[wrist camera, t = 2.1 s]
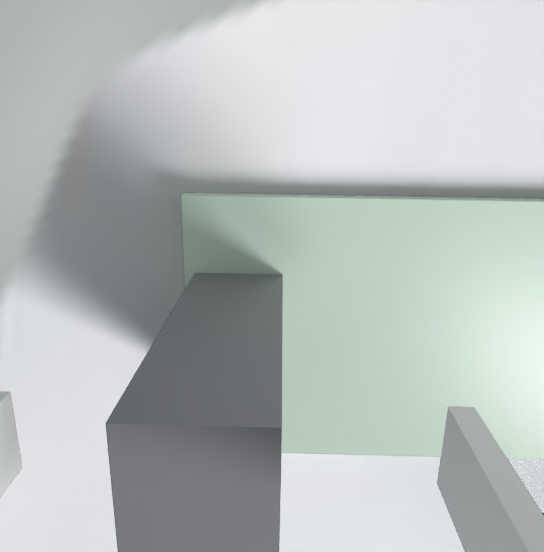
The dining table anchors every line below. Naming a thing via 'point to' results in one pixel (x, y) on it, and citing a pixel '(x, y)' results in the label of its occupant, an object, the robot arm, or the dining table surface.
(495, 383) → the green platform with post
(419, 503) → the dining table surface
